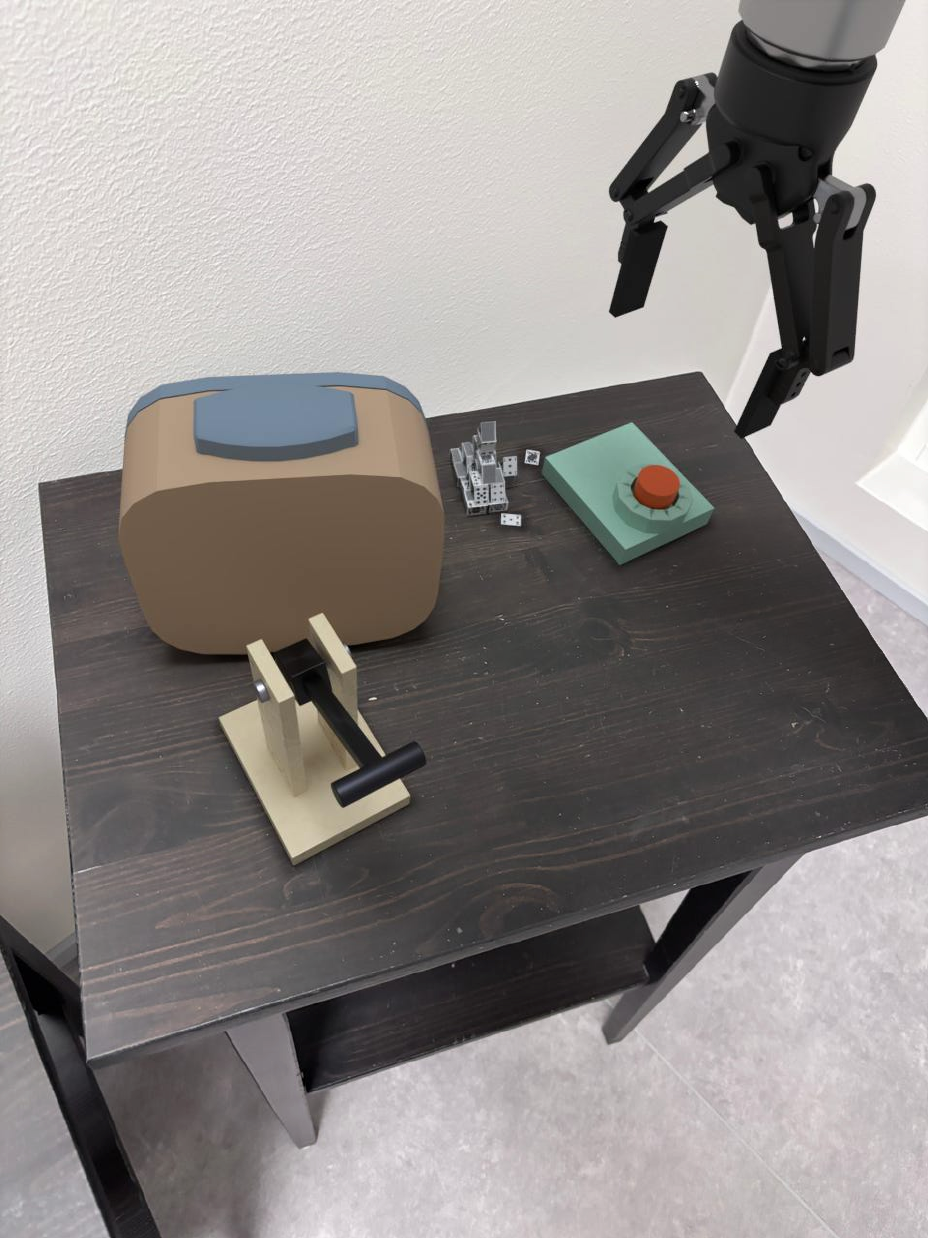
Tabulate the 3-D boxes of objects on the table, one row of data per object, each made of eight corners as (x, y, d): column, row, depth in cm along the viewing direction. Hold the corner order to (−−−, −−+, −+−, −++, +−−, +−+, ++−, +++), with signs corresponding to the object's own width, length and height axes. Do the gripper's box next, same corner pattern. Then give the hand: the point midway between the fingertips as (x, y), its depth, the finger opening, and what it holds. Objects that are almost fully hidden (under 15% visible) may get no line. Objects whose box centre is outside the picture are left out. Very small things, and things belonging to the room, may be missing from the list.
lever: (429, 776, 49) (424, 745, 48) (346, 819, 47) (338, 789, 46) (334, 657, 58) (327, 628, 56) (260, 690, 56) (251, 661, 54)
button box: (708, 526, 82) (723, 496, 79) (621, 567, 78) (632, 538, 75) (626, 438, 87) (636, 407, 84) (541, 473, 84) (548, 442, 81)
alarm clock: (416, 551, 77) (431, 345, 60) (432, 646, 72) (453, 451, 55) (165, 569, 74) (102, 357, 56) (162, 669, 69) (92, 470, 51)
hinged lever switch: (409, 804, 65) (419, 702, 52) (293, 866, 61) (274, 773, 49) (331, 675, 70) (323, 556, 58) (221, 727, 67) (188, 611, 55)
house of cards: (564, 521, 81) (581, 459, 74) (468, 532, 79) (477, 470, 73) (538, 448, 86) (551, 384, 79) (447, 457, 84) (454, 393, 78)
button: (682, 500, 79) (688, 486, 77) (650, 515, 77) (655, 501, 76) (657, 473, 80) (662, 459, 79) (624, 487, 79) (629, 473, 77)
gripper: (1056, 143, 42) (852, 464, 59) (702, -74, 53) (618, 252, 70) (950, 181, 39) (770, 506, 57) (600, -56, 50) (539, 279, 67)
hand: (686, 366), depth 64 cm, fingers open, 13 cm apart
